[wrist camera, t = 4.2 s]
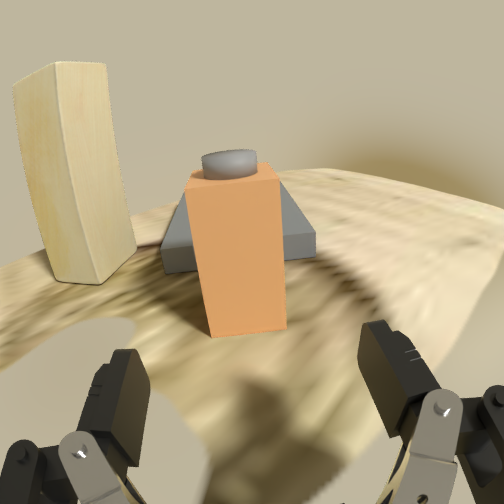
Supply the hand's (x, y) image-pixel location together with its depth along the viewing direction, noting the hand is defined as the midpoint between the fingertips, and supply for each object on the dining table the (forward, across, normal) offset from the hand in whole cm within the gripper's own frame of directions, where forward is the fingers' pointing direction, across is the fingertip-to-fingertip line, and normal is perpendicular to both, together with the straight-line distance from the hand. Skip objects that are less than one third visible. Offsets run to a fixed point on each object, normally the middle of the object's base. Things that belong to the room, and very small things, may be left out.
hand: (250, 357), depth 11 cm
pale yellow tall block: (+22, +16, +6) cm, 27 cm away
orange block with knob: (+11, 0, +6) cm, 12 cm away
